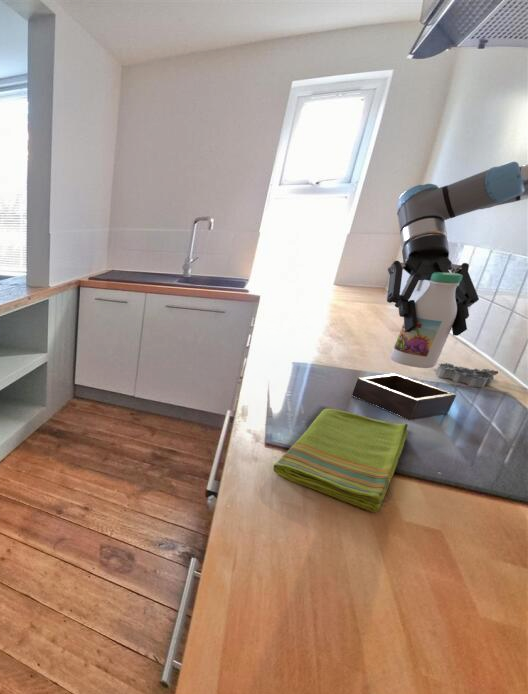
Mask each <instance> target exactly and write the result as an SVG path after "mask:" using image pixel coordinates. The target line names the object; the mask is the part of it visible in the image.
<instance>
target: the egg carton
mask: <svg viewBox="0 0 528 694" xmlns="http://www.w3.org/2000/svg"><path fill="white" fill-rule="evenodd" d="M498 374H499V371H498V370H494V369H489V368H487V369H486V368H483V369H479V368H468V367H465V366H456V365H454V364H452V363H448V362H445V363H442V362H441V363H438V367H437V369H436V371H435V375H436V376H437V377H438V378H442V379H449V380H452V382H455V383H463V384H467V385H468V386H469V387H472V388H479V389H480V388H484V387H485V386H487V387H489V386H491V384H492V382H493V380H494V378H495V376H497V375H498Z"/></svg>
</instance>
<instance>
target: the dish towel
mask: <svg viewBox="0 0 528 694" xmlns="http://www.w3.org/2000/svg"><path fill="white" fill-rule="evenodd" d="M408 426H409V424H408V423H395V422H389V421H385V420H380V419H374V418H370V417H367V416H364V415H359V414H356V413H352V412H347V411H344V410H340V409H335V408H329V407H328V408H324V409H323V410H321V412H320V413H319V414H318V415H317V416H316V418H315V419H314V420H313V422H311V424H310V425H309V427H308V428H307V429H306V430H305V432H303V434H302V435H301V436H300V437H299V438H298V439H297V440H296V441H295V442H294V443H293V445H292V446H290V447H289V449H288V450H287V451H286V452H285V453H284V454H283V455H282V456H281V457H280V458H279V460H277V462H275V463H273V467H272V468H273V472H274V473H275V474H276V475H277V476H279V477H282V478H284V479H285V480H288V481H290V482H292V483H295V484H299V485H302V486H303V487H306V488H309V489H311V490H314V491H317V492H318V493H321V494H324V495H327V496H329V497H332V498H334V499H337V500H339V501H342V502H345V503H348V504H350V505H352V506H356V507H358V508H361V509H364V510H366V511H368V512H371V513H378V512H379V511H380V509H381V506H382V505H383V502H384V501H385V497H386V494H387V492H388V489H389V487H390V484H391V481H392V478H393V477H394V474H395V471H396V468H397V466H398V464H399V459H400V457H401V455H402V452H403V450H404V446H405V442H406V439H407V435H408V433H409V430H408Z"/></svg>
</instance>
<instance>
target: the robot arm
mask: <svg viewBox="0 0 528 694" xmlns="http://www.w3.org/2000/svg"><path fill="white" fill-rule="evenodd" d="M524 200H528V164H525V165H521V166H520V163H518V162H517V161H508V162H506V163H503V164H501V165H497V166H492V167H489V169H486V170H483V171H481V172H478V173H476V174H474V175H471V176H468V177H465V178H463V179H461V180H457V181H456V182H453V183H451V184H447V185H444V186H440V187H439V186H438V185H437V184H434V183H425V184H417V185H415V186H411V187H410V188H408V189H407V190H405V191H404V192H403V193H402V194H401V195H400V196H399V198H398V200H397V212H396V214H397V218H398V220H397V221H398V226H399V234H400V244H401V249H402V250H401V255H402V262H401V261H399V260H394V261H393V262H392V264H390V265H389V266H388V268H387V271H388V275H389V280H388V288H387V296H386V302H387V303H389V304H392V303H394V307H395V308H398V315H399V317H401V318H403V323H404V324H405V332H410V331H412V330H413V329H414V328H416V327H417V317H416V309H415V302H416V300H415V299H411V297H412V295H413V293H414V291H415V289H416V287H417V285H418V283H419V281H428V282H430V280H431V276H432V274H433V273H436V272H445V273H456V274H461V275H463V277H462V280H461V282H460V283H459V285H458V286H457V287H456V291H455V298H456V304H457V314H456V318H455V320H454V323H453V326H452V328H451V331H452V336H453V337H454V336H459V335H461V334H462V333H464V332H466V331H468V325H467V319H468V318H469V317H470V312H469V308H470V307H472V305H474V304H475V303H477V302H478V301H479V300H480V297H479V296H478V293H477V290H476V288H475V285H474V283H473V280H472V278H471V275H470V273H469V269H470V264H468V263H467V262H463V263H461V264H455V263H453V262H452V260H451V259H450V258H449V257H450V247H449V241H448V234H447V229H446V222H445V221H447V220H450V219H453V218H456V217H459V216H462V215H465V214H468V213H469V214H470V213H472V212H475V211H479V210H485V209H489V208H490V209H491V208H494V207H496V206H501V205H505V204H511V203H516V202H520V201H524ZM403 270H404V271H405V272H406V273H407V274H409V276H408V278H407V280H406V283H405V286H404V287H403V290H402V291H401V287H402V278H403Z"/></svg>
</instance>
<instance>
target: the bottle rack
mask: <svg viewBox="0 0 528 694" xmlns="http://www.w3.org/2000/svg"><path fill="white" fill-rule="evenodd" d="M356 379H357V380H356V382H355V385H354V388H353V389H352V393H351V396H352V395H353V396H355V397H357V398H360V399H362V400H364V401H366V402H365V403H367V402H368V403H367V404H369V403H371V404H374V405H377V406H379V407H381V408H384V409H386V410H388V411H391V412H393V413H395V414H398V415H400V416H402V417H404V418H403V419H405V418H406V419H405V420H407V419H408V420H407V421H411V419H412V420H418V419H423V418H429V417H436V416H441V415H448V414H449V413H450V410H451V408H452V406H453V403H454V402H455V399H456V397H457V394H456V393H453V392H451V391H448V390H446V389H442V388H439V387H437V386H436V387H435V386H433V385H430V384H427V383H425V382H424V383H423V382H421V381H418V380H415V379H412V378H409V377H407V376H404V375H400V374H397V373H389V374H388V373H387V374H379V375H373V376H366V377H364V376H363V377H358V378H356ZM355 397H354V398H355ZM357 398H356V399H357ZM360 399H359V400H360ZM362 400H361V401H362ZM364 401H363V402H364ZM371 404H370V405H371ZM374 405H373V406H374ZM379 407H378V408H379ZM381 408H380V409H381ZM386 410H385V411H386ZM388 411H387V412H388ZM393 413H392V414H393ZM395 414H394V415H395ZM398 415H397V416H398ZM400 416H399V417H400ZM402 417H401V418H402Z"/></svg>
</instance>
